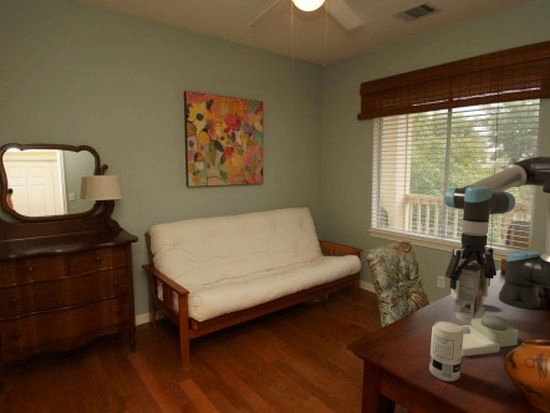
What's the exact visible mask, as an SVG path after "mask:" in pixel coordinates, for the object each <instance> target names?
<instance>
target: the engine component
mask: <svg viewBox="0 0 550 413" xmlns="http://www.w3.org/2000/svg"><path fill="white" fill-rule="evenodd" d="M485 309H486V308H485V307H483V306H482V309H481V310H480V311H479V312H478V313H477V314H476V315H475V316H474V317H471V316H468V315H464V314H461V313H458V312H455V317H456V318H457V319H458V320H460V321H462V322H464V321H465V323H468V322H469V323H468V324H471V319H478V318H481V317H482V316H483V315H486V314H485V313H486V312H485V311H486V310H485Z"/></svg>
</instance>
